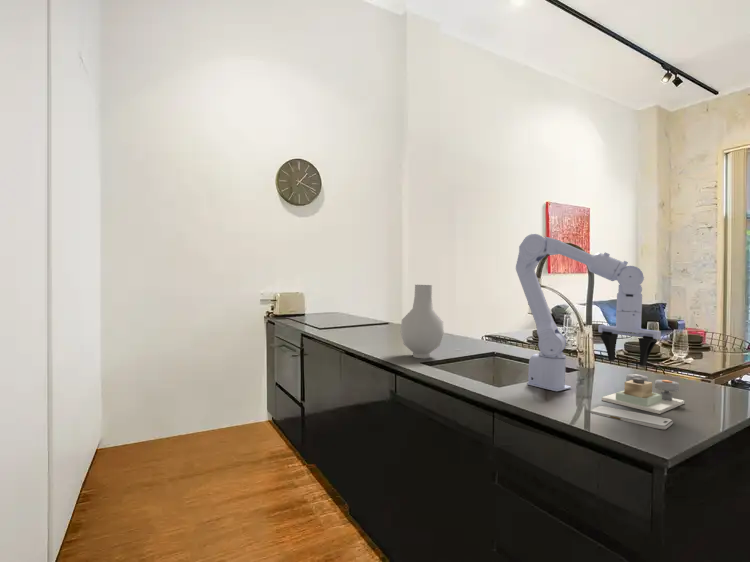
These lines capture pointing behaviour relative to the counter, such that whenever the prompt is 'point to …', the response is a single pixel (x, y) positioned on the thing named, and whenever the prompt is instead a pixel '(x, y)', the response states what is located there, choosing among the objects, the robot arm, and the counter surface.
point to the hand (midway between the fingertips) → (626, 362)
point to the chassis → (644, 399)
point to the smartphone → (633, 417)
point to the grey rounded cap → (667, 385)
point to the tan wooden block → (638, 388)
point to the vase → (422, 324)
